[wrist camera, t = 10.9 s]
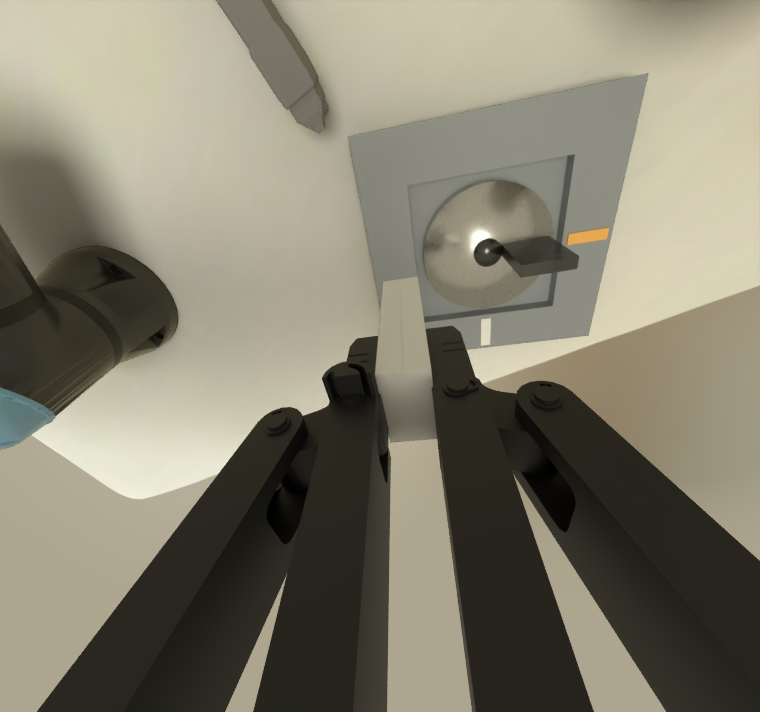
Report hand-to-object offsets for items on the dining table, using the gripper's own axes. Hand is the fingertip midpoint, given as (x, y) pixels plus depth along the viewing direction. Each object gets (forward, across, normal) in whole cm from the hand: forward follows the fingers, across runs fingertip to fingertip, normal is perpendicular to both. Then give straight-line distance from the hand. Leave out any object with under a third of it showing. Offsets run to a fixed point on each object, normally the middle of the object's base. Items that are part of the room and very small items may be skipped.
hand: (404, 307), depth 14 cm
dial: (+25, +9, -6) cm, 27 cm away
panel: (+26, +9, -6) cm, 29 cm away
